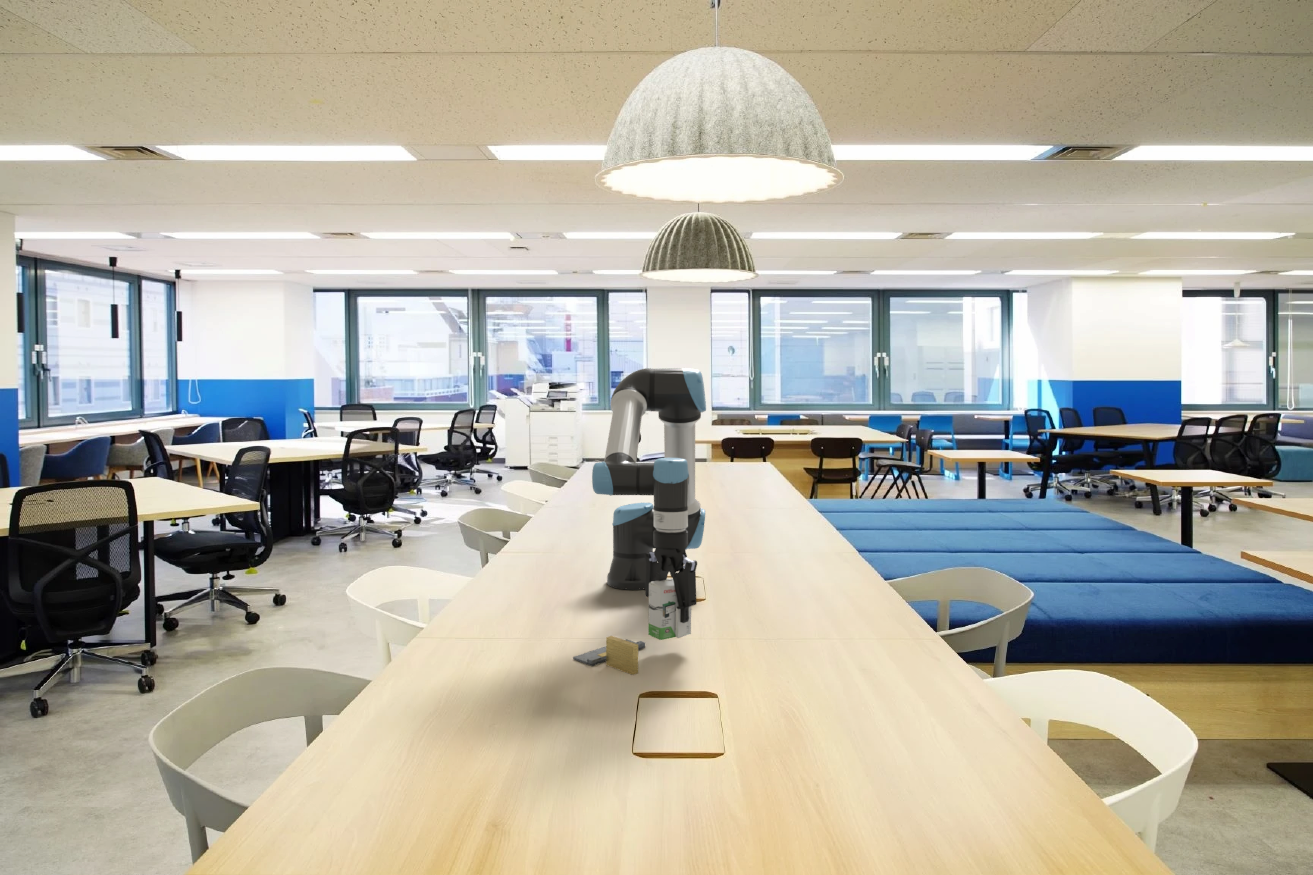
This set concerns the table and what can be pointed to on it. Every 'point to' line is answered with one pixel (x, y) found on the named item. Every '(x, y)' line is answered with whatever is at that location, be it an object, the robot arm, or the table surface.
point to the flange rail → (615, 655)
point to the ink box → (663, 610)
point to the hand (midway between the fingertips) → (670, 632)
